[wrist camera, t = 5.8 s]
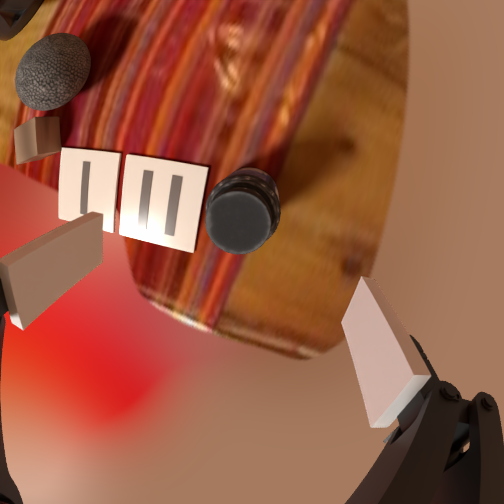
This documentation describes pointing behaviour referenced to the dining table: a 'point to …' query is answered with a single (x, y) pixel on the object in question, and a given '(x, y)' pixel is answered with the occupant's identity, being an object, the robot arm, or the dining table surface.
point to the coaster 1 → (88, 184)
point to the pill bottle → (243, 211)
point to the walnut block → (37, 139)
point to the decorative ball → (52, 71)
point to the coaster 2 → (162, 201)
